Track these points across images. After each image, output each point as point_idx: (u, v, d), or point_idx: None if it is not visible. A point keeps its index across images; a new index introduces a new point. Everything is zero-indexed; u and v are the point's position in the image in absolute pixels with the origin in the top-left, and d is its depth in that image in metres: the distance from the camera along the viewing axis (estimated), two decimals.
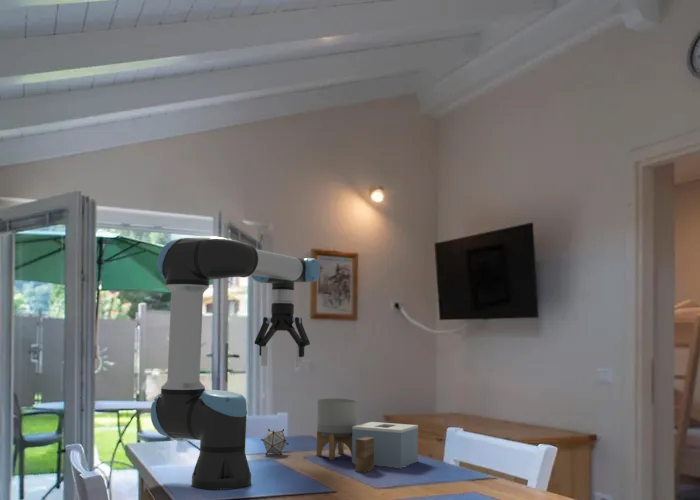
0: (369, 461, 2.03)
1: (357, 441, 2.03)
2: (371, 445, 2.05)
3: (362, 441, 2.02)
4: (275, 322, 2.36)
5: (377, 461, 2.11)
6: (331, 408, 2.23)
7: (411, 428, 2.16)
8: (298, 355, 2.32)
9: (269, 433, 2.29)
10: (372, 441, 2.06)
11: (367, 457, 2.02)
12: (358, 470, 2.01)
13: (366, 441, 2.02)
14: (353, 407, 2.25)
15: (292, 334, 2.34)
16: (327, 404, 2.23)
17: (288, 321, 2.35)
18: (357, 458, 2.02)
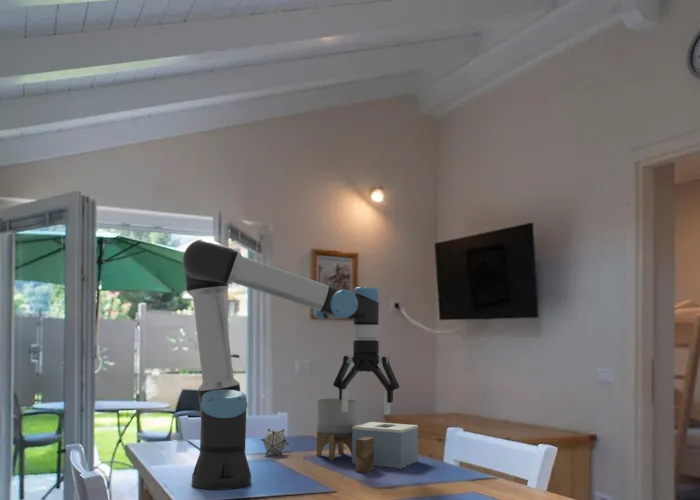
0: (369, 461, 2.03)
1: (357, 441, 2.03)
2: (371, 445, 2.05)
3: (362, 441, 2.02)
4: (358, 362, 2.07)
5: (377, 461, 2.11)
6: (331, 408, 2.23)
7: (411, 428, 2.16)
8: (386, 400, 2.02)
9: (269, 433, 2.29)
10: (372, 441, 2.06)
11: (367, 457, 2.02)
12: (358, 470, 2.01)
13: (366, 441, 2.02)
14: (353, 407, 2.25)
15: (379, 376, 2.04)
16: (327, 404, 2.23)
17: (373, 361, 2.05)
18: (357, 458, 2.02)
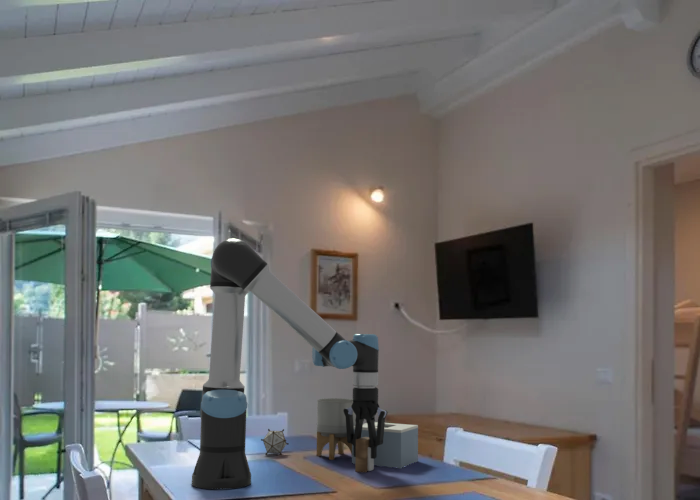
0: None
1: (357, 441, 2.03)
2: None
3: (362, 441, 2.02)
4: (358, 410, 2.05)
5: (377, 461, 2.11)
6: (331, 408, 2.23)
7: (411, 428, 2.16)
8: (370, 456, 2.03)
9: (269, 433, 2.29)
10: None
11: (367, 457, 2.02)
12: (358, 470, 2.01)
13: (366, 441, 2.02)
14: None
15: (370, 429, 2.03)
16: (327, 404, 2.23)
17: (372, 409, 2.04)
18: (357, 458, 2.02)
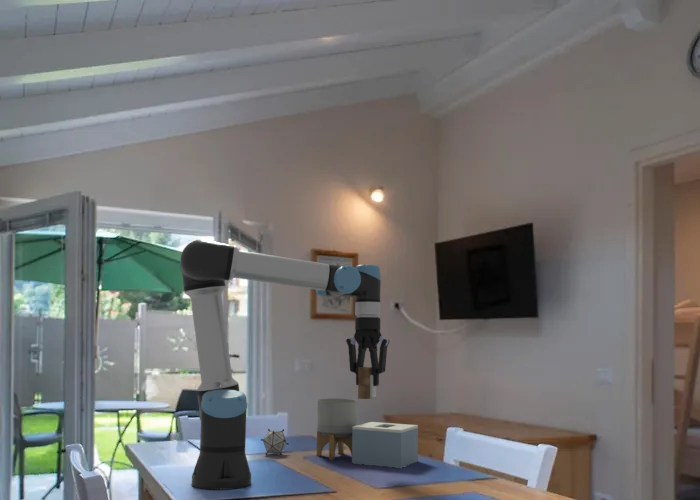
0: None
1: (360, 369, 2.06)
2: None
3: (364, 368, 2.05)
4: (360, 339, 2.08)
5: (377, 461, 2.11)
6: (331, 408, 2.23)
7: (411, 428, 2.16)
8: (372, 384, 2.06)
9: (269, 433, 2.29)
10: None
11: (369, 385, 2.05)
12: (361, 397, 2.05)
13: (368, 369, 2.05)
14: (353, 407, 2.25)
15: (372, 357, 2.07)
16: (327, 404, 2.23)
17: (374, 337, 2.07)
18: (360, 385, 2.05)
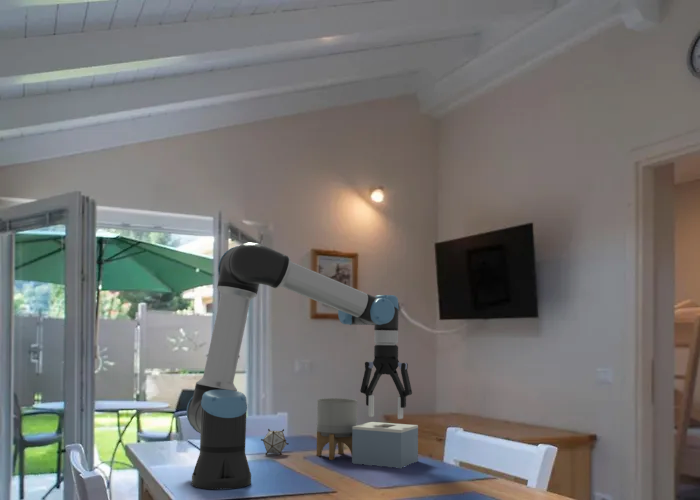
0: None
1: None
2: None
3: None
4: (379, 366, 2.20)
5: (377, 461, 2.11)
6: (331, 408, 2.23)
7: (411, 428, 2.16)
8: (400, 406, 2.16)
9: (269, 433, 2.29)
10: None
11: None
12: None
13: None
14: (353, 407, 2.25)
15: (395, 381, 2.17)
16: (327, 404, 2.23)
17: (393, 365, 2.19)
18: None
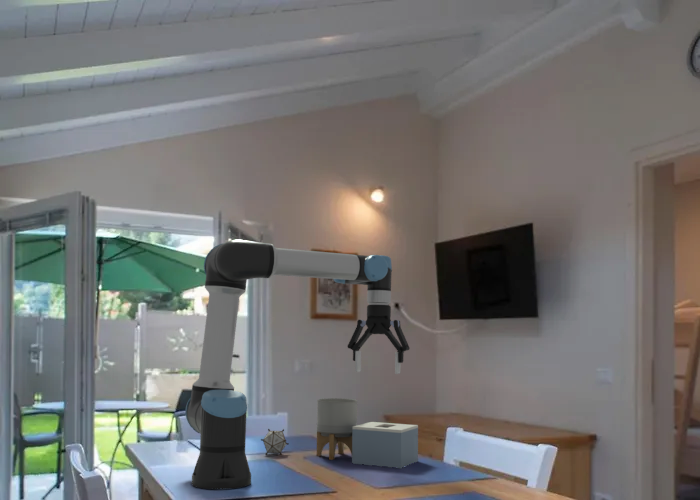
0: None
1: None
2: None
3: None
4: (371, 325, 2.21)
5: (377, 461, 2.11)
6: (331, 408, 2.23)
7: (411, 428, 2.16)
8: (397, 361, 2.17)
9: (269, 433, 2.29)
10: None
11: None
12: None
13: None
14: (353, 407, 2.25)
15: (390, 338, 2.18)
16: (327, 404, 2.23)
17: (386, 324, 2.20)
18: None
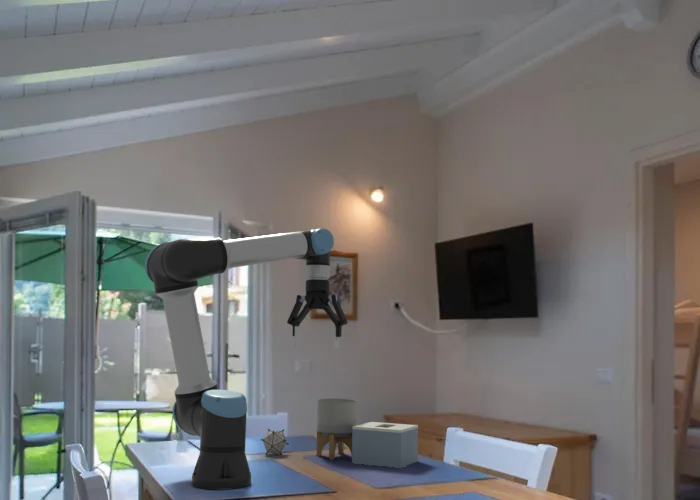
0: None
1: None
2: None
3: None
4: (310, 300, 2.21)
5: (377, 461, 2.11)
6: (331, 408, 2.23)
7: (411, 428, 2.16)
8: (335, 335, 2.16)
9: (269, 433, 2.29)
10: None
11: None
12: None
13: None
14: (353, 407, 2.25)
15: (328, 313, 2.18)
16: (327, 404, 2.23)
17: (324, 299, 2.20)
18: None
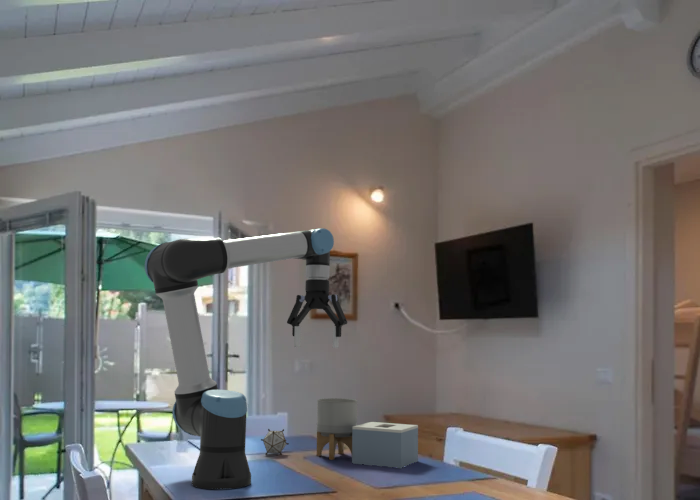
0: None
1: None
2: None
3: None
4: (310, 300, 2.21)
5: (377, 461, 2.11)
6: (331, 408, 2.23)
7: (411, 428, 2.16)
8: (335, 335, 2.16)
9: (269, 433, 2.29)
10: None
11: None
12: None
13: None
14: (353, 407, 2.25)
15: (328, 312, 2.18)
16: (327, 404, 2.23)
17: (324, 299, 2.20)
18: None
